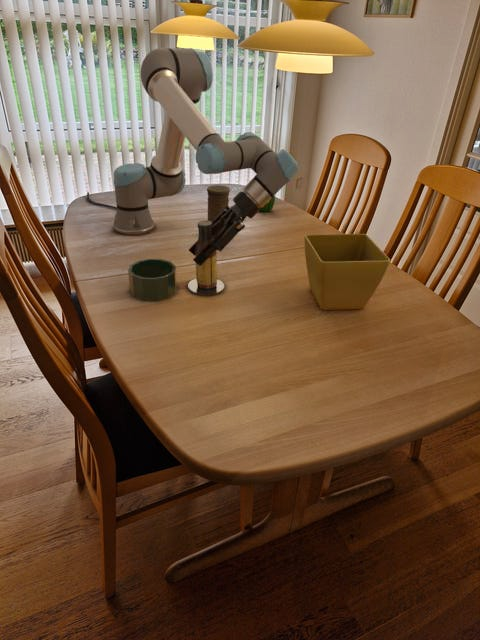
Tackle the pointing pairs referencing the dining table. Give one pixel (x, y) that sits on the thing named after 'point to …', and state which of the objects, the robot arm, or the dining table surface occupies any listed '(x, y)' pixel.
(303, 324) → the dining table surface
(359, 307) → the flower pot
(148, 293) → the crock
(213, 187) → the container
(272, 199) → the bell pepper
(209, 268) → the sauce bottle
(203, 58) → the robot arm
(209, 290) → the coaster
